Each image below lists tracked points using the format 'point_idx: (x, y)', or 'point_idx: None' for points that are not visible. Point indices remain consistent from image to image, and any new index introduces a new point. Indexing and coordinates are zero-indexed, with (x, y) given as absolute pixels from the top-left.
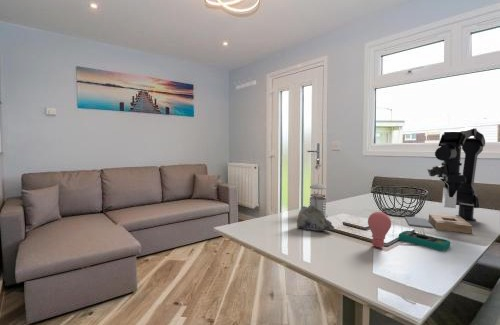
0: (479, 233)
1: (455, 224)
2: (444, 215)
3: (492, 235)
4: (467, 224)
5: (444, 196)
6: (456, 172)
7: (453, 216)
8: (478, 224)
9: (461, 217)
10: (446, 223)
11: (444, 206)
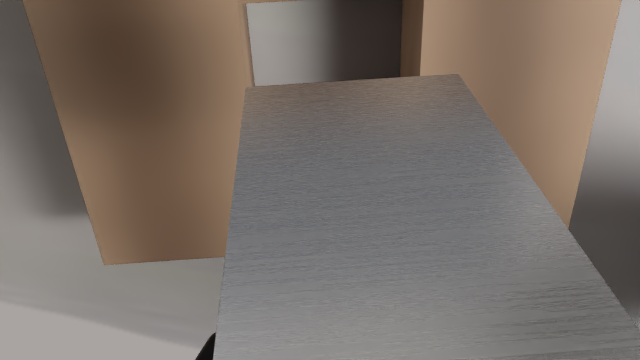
0: (175, 266)
1: (60, 113)
2: (571, 65)
3: (172, 334)
4: (147, 233)
5: (311, 224)
6: None
7: (542, 164)
8: None
9: None
10: (27, 8)
11: (248, 93)
